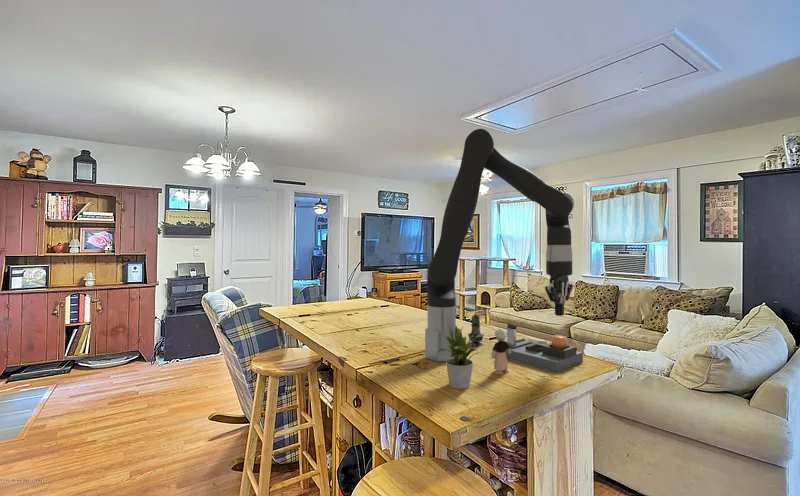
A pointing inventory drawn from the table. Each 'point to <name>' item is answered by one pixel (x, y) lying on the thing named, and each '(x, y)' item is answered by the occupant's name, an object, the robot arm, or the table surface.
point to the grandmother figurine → (500, 352)
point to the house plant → (459, 359)
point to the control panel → (544, 355)
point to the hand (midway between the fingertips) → (559, 315)
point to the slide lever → (511, 334)
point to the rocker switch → (537, 341)
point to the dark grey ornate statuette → (476, 328)
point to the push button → (559, 341)
